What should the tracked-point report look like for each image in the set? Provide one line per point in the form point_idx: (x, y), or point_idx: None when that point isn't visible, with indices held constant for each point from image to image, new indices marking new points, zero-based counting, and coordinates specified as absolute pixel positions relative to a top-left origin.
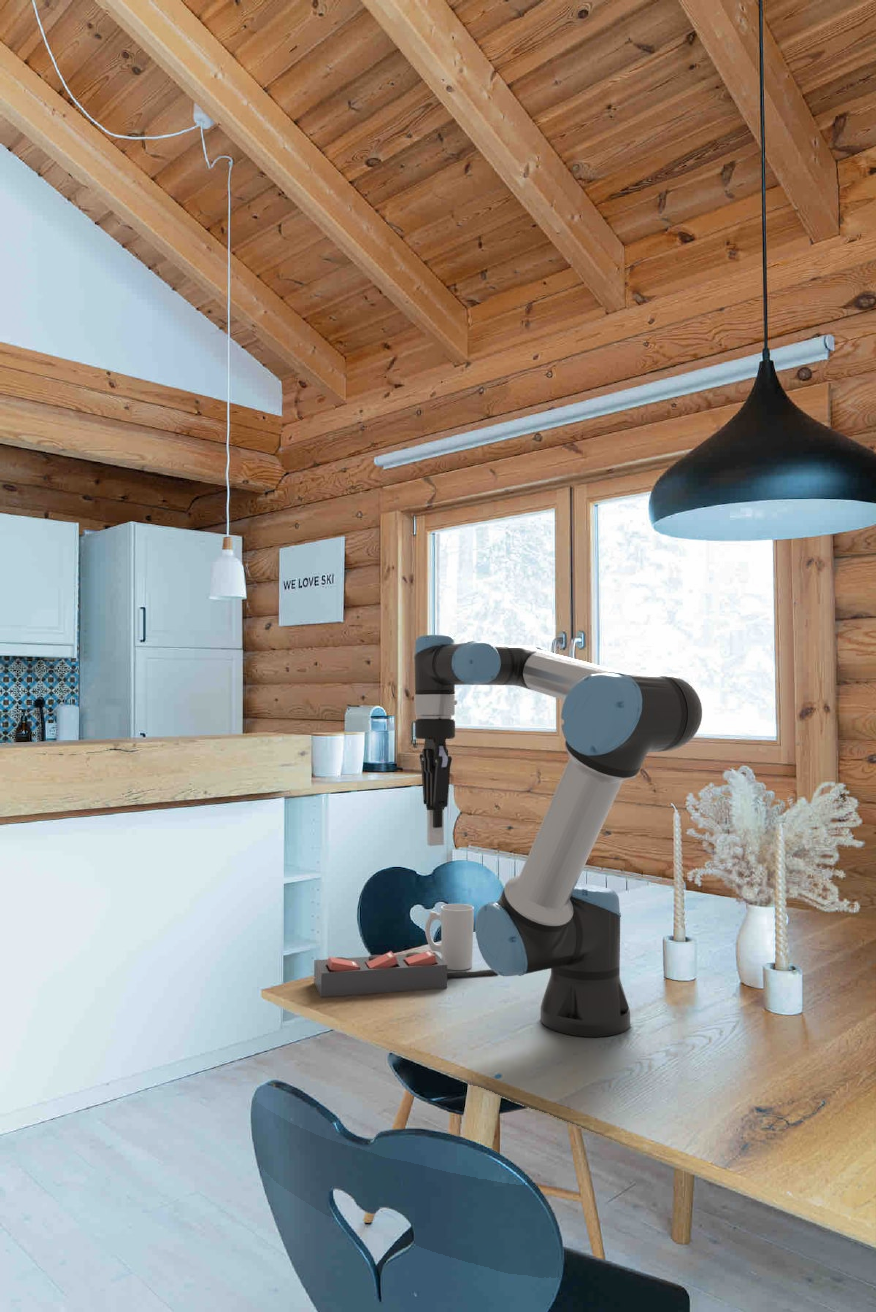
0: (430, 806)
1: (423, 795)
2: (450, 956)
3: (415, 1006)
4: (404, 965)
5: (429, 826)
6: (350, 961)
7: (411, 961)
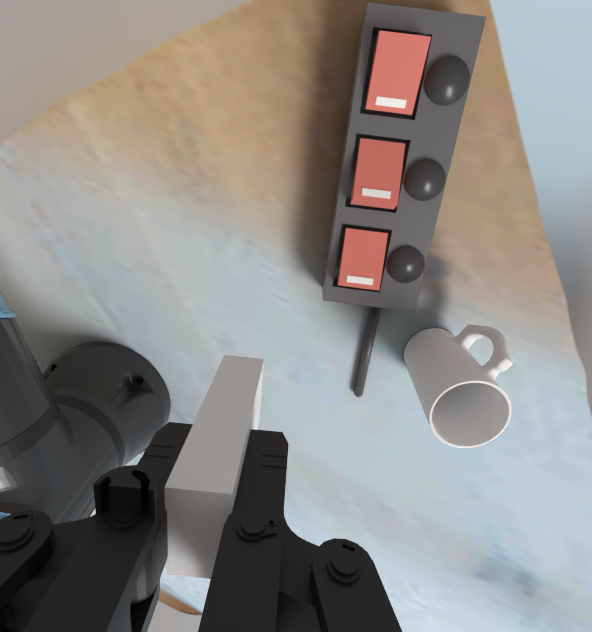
0: (120, 512)
1: (388, 629)
2: (420, 343)
3: (244, 195)
4: (350, 218)
5: (201, 408)
6: (408, 99)
7: (354, 236)
